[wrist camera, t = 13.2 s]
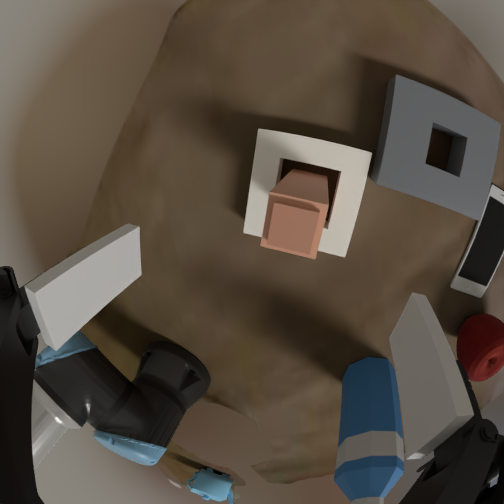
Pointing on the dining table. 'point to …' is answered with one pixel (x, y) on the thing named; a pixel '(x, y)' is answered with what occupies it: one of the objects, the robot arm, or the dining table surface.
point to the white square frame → (317, 153)
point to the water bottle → (369, 432)
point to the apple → (481, 346)
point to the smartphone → (483, 248)
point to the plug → (296, 213)
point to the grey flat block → (417, 143)
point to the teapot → (212, 485)
